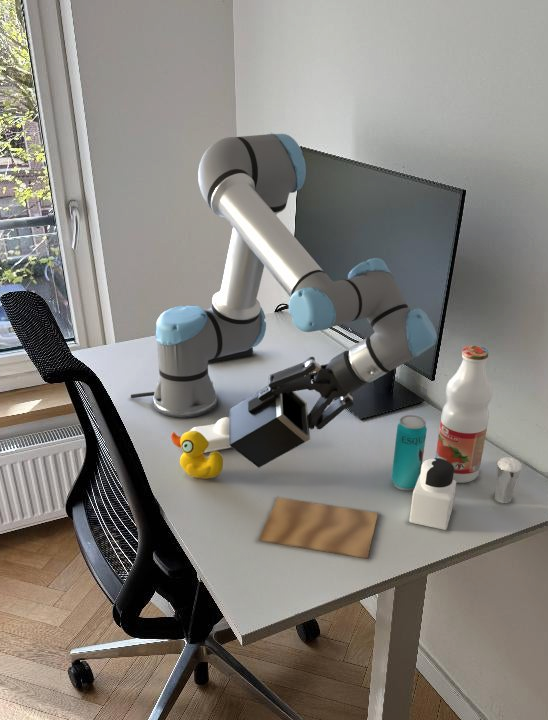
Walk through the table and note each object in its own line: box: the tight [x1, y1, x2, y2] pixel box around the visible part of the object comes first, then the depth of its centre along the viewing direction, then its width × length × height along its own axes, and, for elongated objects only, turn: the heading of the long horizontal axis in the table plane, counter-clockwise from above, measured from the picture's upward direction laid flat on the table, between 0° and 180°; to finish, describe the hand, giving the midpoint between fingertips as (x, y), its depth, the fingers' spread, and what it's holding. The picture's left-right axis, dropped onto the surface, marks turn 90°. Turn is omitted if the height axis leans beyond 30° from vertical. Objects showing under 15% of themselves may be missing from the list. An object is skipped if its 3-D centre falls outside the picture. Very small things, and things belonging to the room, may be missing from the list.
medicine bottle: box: [408, 457, 457, 531], centre depth 143 cm, size 7×7×12 cm
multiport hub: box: [208, 347, 254, 364], centre depth 209 cm, size 4×14×2 cm, turn 116°
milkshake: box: [494, 456, 528, 504], centre depth 149 cm, size 4×5×10 cm
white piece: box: [189, 416, 232, 454], centre depth 168 cm, size 10×20×6 cm, turn 111°
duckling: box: [170, 430, 224, 480], centre depth 154 cm, size 11×5×10 cm, turn 68°
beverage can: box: [391, 414, 428, 492], centre depth 152 cm, size 6×6×15 cm
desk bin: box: [229, 384, 311, 469], centre depth 150 cm, size 13×9×10 cm
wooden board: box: [258, 497, 379, 559], centre depth 142 cm, size 20×14×1 cm
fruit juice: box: [434, 345, 494, 484], centre depth 153 cm, size 9×9×28 cm
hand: (265, 420), depth 151 cm, fingers closed on desk bin, 9 cm apart
